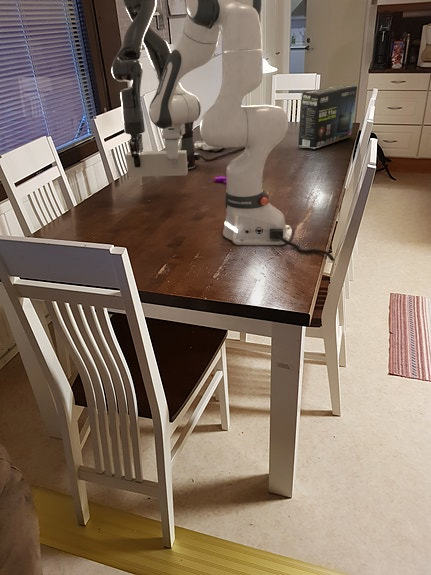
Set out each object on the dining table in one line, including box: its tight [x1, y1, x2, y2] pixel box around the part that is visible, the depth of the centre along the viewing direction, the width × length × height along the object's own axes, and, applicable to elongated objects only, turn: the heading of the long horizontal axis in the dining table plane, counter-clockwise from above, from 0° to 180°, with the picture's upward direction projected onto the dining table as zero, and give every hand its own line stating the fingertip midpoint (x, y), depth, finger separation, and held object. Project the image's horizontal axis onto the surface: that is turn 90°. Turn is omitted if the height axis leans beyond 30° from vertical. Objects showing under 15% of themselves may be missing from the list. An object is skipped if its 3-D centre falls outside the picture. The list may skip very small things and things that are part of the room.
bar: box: [124, 150, 189, 178], centre depth 177 cm, size 23×4×8 cm, turn 89°
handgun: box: [214, 176, 226, 184], centre depth 189 cm, size 21×8×2 cm, turn 11°
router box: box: [297, 84, 358, 151], centre depth 238 cm, size 36×11×27 cm, turn 134°
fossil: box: [194, 140, 223, 153], centre depth 243 cm, size 18×11×15 cm
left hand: (138, 164), depth 178 cm, fingers open, 5 cm apart
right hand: (176, 165), depth 178 cm, fingers closed on bar, 4 cm apart
